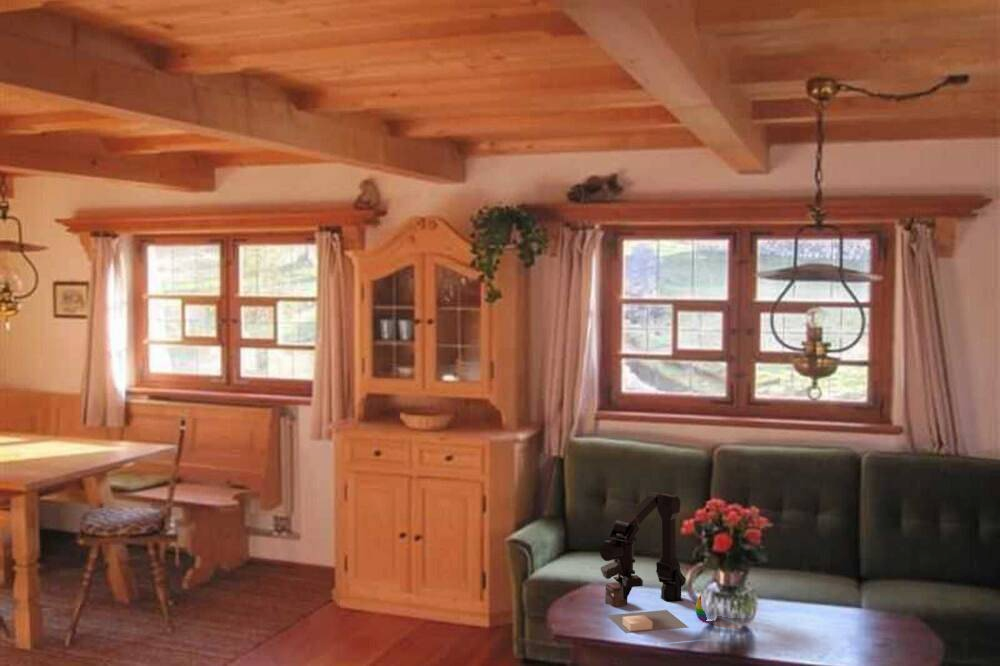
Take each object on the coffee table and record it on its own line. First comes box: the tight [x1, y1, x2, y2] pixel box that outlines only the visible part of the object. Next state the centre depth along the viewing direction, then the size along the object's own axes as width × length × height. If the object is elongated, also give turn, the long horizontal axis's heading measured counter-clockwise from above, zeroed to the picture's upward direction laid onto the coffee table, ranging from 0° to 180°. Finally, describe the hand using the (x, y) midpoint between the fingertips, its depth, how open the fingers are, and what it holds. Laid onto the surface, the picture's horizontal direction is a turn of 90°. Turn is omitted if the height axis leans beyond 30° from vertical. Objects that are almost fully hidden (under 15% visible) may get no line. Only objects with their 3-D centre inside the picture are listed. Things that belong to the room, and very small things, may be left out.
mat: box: [606, 609, 689, 634], centre depth 335 cm, size 23×18×1 cm
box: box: [604, 581, 628, 608], centre depth 353 cm, size 6×6×7 cm
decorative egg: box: [695, 594, 707, 622], centre depth 337 cm, size 8×8×10 cm
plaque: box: [623, 615, 652, 631], centre depth 329 cm, size 8×3×7 cm
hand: (624, 599), depth 340 cm, fingers closed
